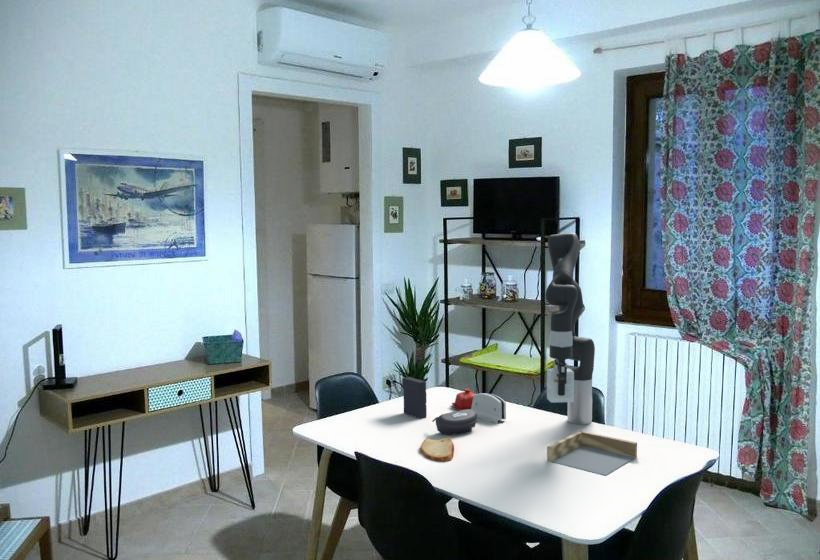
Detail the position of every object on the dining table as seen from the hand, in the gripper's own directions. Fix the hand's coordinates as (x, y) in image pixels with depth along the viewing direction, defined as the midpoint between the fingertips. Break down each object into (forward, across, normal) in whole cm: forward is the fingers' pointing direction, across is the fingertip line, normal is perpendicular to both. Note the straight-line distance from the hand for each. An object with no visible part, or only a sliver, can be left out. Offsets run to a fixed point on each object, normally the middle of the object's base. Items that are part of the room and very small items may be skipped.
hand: (560, 392), depth 233 cm
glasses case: (+20, -19, -36) cm, 45 cm away
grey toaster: (+20, -38, -24) cm, 49 cm away
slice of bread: (+21, +4, -40) cm, 46 cm away
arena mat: (+20, +9, +10) cm, 24 cm away
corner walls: (+20, +9, +10) cm, 24 cm away
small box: (+3, 0, 0) cm, 3 cm away
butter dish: (+20, -53, -32) cm, 65 cm away
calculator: (+20, -39, -53) cm, 69 cm away
